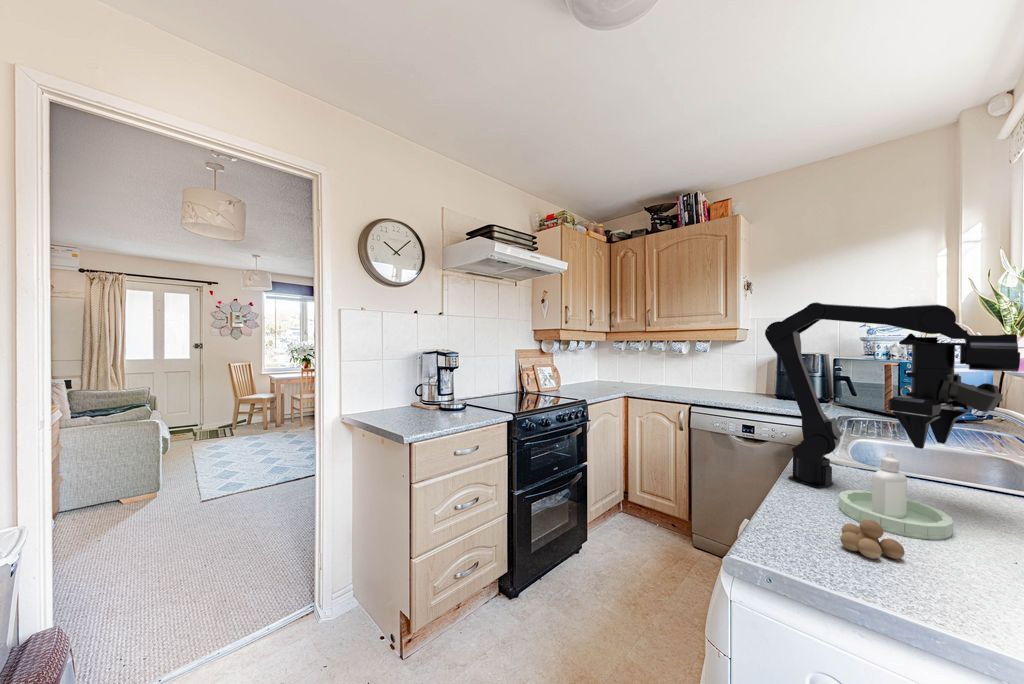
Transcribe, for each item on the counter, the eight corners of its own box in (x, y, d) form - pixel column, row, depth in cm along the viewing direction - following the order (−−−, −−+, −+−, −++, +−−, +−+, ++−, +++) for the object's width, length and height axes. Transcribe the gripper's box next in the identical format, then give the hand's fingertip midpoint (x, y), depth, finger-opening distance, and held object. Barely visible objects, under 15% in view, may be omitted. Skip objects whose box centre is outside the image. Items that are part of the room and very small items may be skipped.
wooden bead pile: (825, 542, 63) (826, 513, 63) (847, 535, 66) (847, 507, 65) (887, 569, 56) (888, 537, 56) (908, 560, 58) (909, 528, 58)
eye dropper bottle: (915, 522, 68) (917, 457, 68) (876, 517, 70) (878, 453, 70) (900, 512, 73) (901, 450, 72) (864, 507, 74) (865, 447, 74)
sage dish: (822, 508, 75) (823, 497, 75) (863, 496, 81) (864, 485, 81) (927, 547, 62) (928, 533, 62) (968, 529, 68) (968, 516, 68)
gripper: (973, 373, 64) (971, 464, 64) (1016, 370, 71) (1014, 451, 71) (887, 368, 74) (885, 446, 74) (932, 365, 81) (930, 437, 82)
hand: (930, 445), depth 75 cm, fingers open, 9 cm apart
